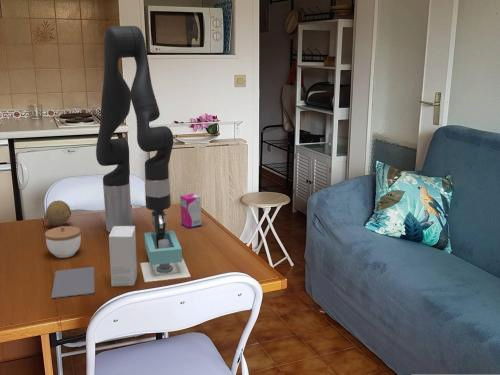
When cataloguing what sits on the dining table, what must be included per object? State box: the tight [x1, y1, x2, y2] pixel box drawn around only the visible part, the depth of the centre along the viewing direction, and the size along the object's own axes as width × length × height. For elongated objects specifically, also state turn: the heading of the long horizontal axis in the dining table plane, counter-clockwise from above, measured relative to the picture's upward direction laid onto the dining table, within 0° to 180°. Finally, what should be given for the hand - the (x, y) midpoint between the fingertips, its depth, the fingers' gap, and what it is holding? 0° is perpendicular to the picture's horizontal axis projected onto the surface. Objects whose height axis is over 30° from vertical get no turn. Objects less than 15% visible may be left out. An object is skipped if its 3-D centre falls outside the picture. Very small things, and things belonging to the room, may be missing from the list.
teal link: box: [144, 229, 183, 265], centre depth 158 cm, size 16×9×4 cm, turn 16°
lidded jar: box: [44, 225, 82, 259], centre depth 169 cm, size 11×11×9 cm
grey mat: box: [50, 266, 96, 300], centre depth 149 cm, size 18×12×1 cm, turn 16°
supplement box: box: [179, 193, 202, 229], centre depth 196 cm, size 6×6×12 cm
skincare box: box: [108, 225, 138, 287], centre depth 147 cm, size 8×7×16 cm
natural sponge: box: [44, 199, 72, 228], centre depth 195 cm, size 9×9×10 cm
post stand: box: [140, 239, 191, 283], centre depth 155 cm, size 14×13×10 cm
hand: (159, 245), depth 165 cm, fingers closed on teal link, 2 cm apart
